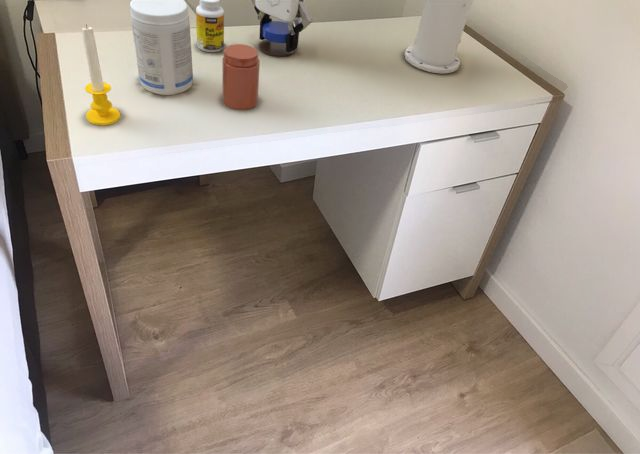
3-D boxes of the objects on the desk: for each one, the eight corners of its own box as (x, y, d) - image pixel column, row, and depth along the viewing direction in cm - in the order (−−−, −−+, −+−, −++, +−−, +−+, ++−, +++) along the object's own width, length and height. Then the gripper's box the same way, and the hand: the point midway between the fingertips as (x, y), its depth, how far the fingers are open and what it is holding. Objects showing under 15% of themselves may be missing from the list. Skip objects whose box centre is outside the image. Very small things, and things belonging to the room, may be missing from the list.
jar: (239, 88, 98) (240, 39, 91) (264, 102, 95) (267, 52, 89) (215, 99, 94) (214, 49, 87) (240, 114, 91) (242, 63, 85)
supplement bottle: (203, 55, 105) (202, 4, 98) (192, 43, 109) (190, -7, 102) (228, 51, 108) (228, 2, 101) (217, 40, 111) (216, -9, 104)
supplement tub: (185, 69, 100) (181, -9, 90) (199, 93, 94) (196, 13, 84) (134, 74, 96) (123, -7, 86) (145, 99, 91) (135, 16, 81)
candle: (83, 111, 85) (62, 18, 75) (115, 106, 88) (100, 15, 77) (91, 128, 82) (71, 33, 72) (124, 122, 85) (109, 29, 74)
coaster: (275, 37, 116) (275, 35, 116) (302, 50, 113) (302, 48, 113) (250, 47, 111) (250, 44, 111) (278, 60, 108) (279, 58, 108)
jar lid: (277, 26, 114) (277, 18, 112) (301, 37, 111) (301, 29, 110) (255, 34, 109) (256, 26, 108) (280, 46, 107) (280, 37, 105)
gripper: (237, -55, 100) (236, 35, 112) (307, -28, 94) (298, 64, 106) (263, -60, 105) (259, 26, 117) (331, -35, 98) (320, 53, 110)
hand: (278, 43), depth 111 cm, fingers closed on jar lid, 6 cm apart
